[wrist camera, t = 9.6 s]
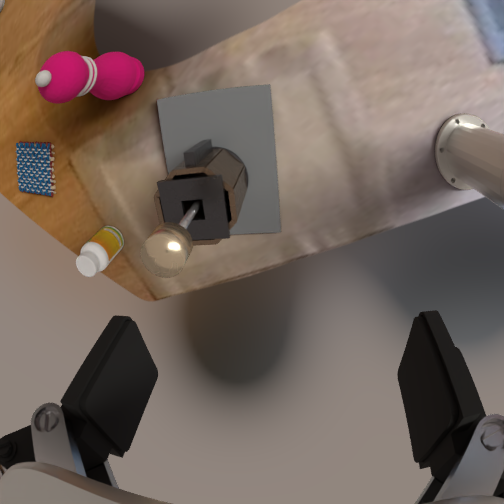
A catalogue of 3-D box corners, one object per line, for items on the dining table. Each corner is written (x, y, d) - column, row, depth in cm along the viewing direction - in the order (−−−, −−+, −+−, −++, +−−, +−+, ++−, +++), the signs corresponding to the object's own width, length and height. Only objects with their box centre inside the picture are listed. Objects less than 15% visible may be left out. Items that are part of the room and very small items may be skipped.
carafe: (244, 134, 40) (230, 150, 29) (251, 208, 45) (242, 247, 35) (176, 142, 41) (142, 161, 31) (188, 212, 47) (161, 251, 36)
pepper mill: (127, 107, 40) (40, 127, 23) (98, 81, 38) (7, 90, 20) (156, 71, 37) (76, 67, 20) (126, 45, 35) (39, 32, 18)
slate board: (270, 84, 37) (270, 84, 36) (280, 228, 48) (280, 232, 47) (159, 99, 39) (156, 99, 38) (182, 233, 50) (180, 237, 49)
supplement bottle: (103, 219, 50) (74, 245, 41) (128, 233, 51) (102, 262, 42) (96, 242, 52) (70, 270, 44) (120, 256, 53) (96, 286, 45)
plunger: (234, 155, 40) (196, 213, 22) (240, 205, 43) (211, 293, 25) (183, 161, 41) (112, 220, 23) (191, 208, 44) (135, 293, 26)
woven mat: (23, 190, 48) (17, 193, 47) (20, 140, 43) (13, 142, 41) (58, 195, 49) (52, 199, 47) (56, 141, 43) (50, 143, 42)
